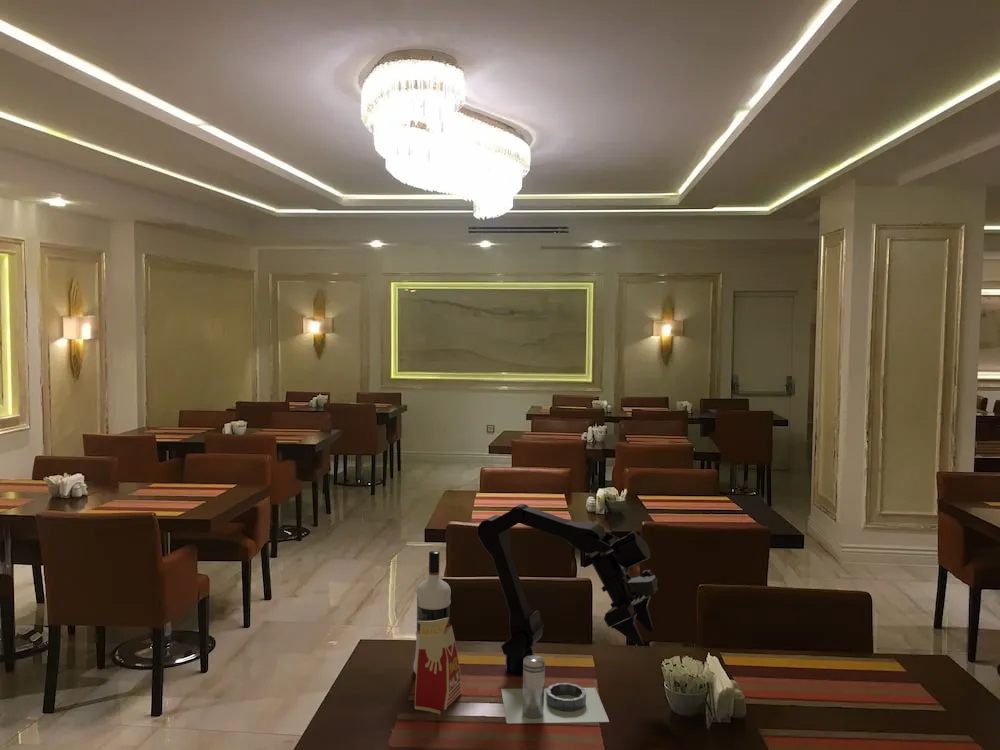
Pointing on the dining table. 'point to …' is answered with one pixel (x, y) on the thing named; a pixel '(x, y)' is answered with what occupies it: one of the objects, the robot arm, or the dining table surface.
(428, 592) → the vodka
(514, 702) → the plate
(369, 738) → the dining table surface
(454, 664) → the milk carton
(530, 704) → the silver upright cylinder
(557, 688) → the ring collar
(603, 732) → the dining table surface
